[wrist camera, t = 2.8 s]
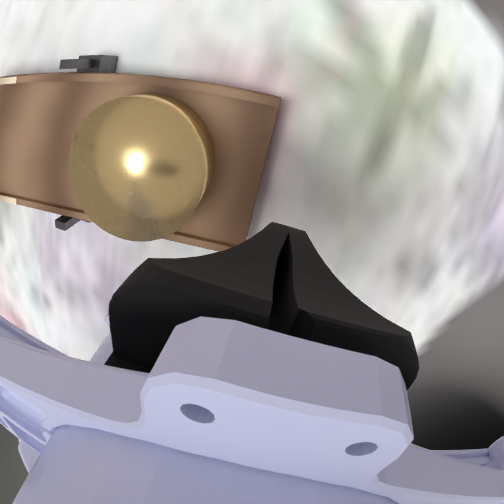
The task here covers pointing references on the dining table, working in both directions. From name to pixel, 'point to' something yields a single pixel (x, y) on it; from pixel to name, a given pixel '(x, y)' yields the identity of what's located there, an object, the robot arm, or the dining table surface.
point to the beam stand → (85, 65)
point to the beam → (121, 85)
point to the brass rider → (141, 165)
